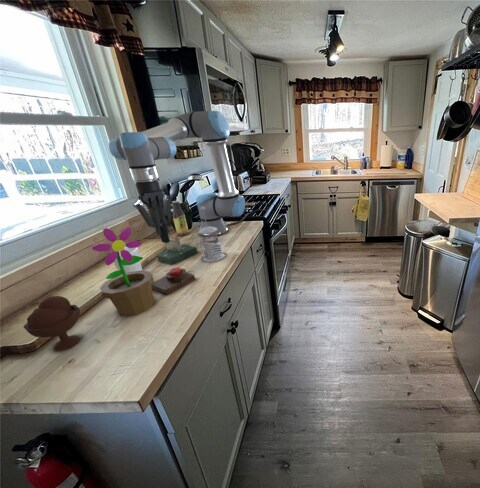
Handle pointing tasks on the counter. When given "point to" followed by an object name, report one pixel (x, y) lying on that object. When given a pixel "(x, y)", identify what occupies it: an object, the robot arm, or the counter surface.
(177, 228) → the sauce bottle
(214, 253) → the french press
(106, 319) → the counter surface
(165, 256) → the panel
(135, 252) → the foam cup
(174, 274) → the red button
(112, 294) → the flowerpot
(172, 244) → the gray upright block
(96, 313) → the counter surface
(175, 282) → the button block
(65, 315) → the ice cream bowl
